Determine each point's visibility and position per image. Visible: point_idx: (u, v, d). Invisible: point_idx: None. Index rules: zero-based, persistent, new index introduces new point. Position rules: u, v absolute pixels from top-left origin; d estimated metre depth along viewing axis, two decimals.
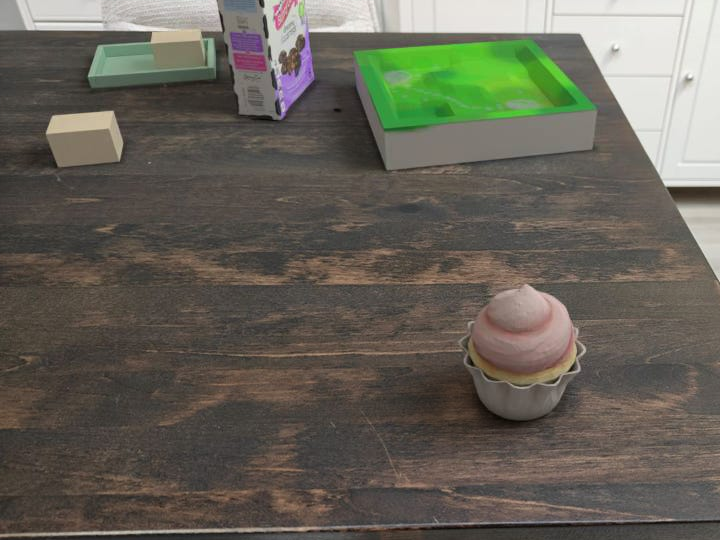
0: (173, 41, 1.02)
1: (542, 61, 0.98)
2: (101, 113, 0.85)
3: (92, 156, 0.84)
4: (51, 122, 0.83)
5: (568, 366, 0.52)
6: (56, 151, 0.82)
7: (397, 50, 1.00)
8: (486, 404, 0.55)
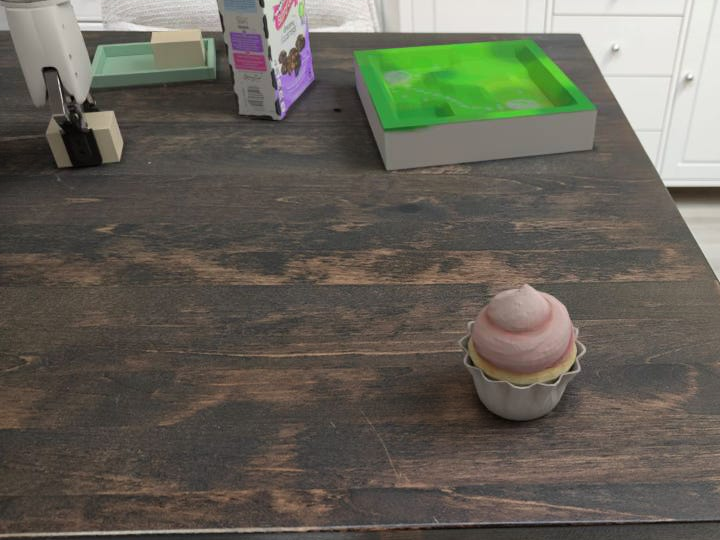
0: (173, 41, 1.02)
1: (542, 61, 0.98)
2: (101, 113, 0.85)
3: None
4: (51, 122, 0.83)
5: (568, 366, 0.52)
6: (56, 151, 0.82)
7: (397, 50, 1.00)
8: (486, 404, 0.55)
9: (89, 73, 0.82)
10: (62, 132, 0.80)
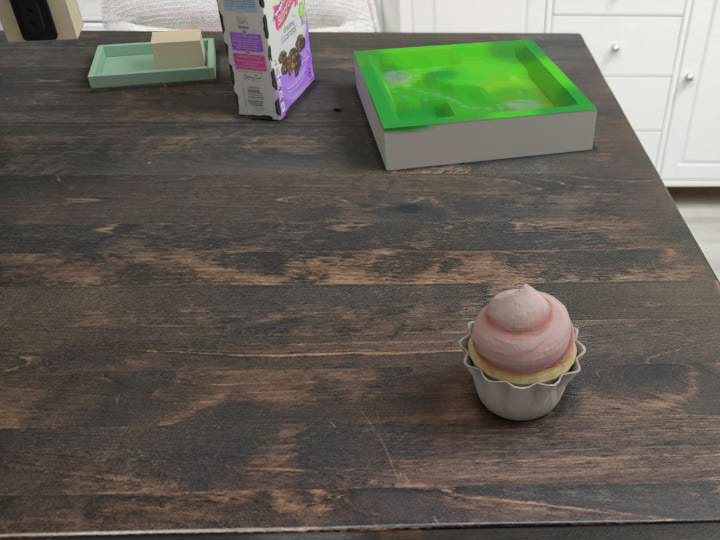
0: (173, 41, 1.02)
1: (542, 61, 0.98)
2: None
3: None
4: None
5: (568, 366, 0.52)
6: (5, 22, 0.74)
7: (397, 50, 1.00)
8: (486, 404, 0.55)
9: None
10: None
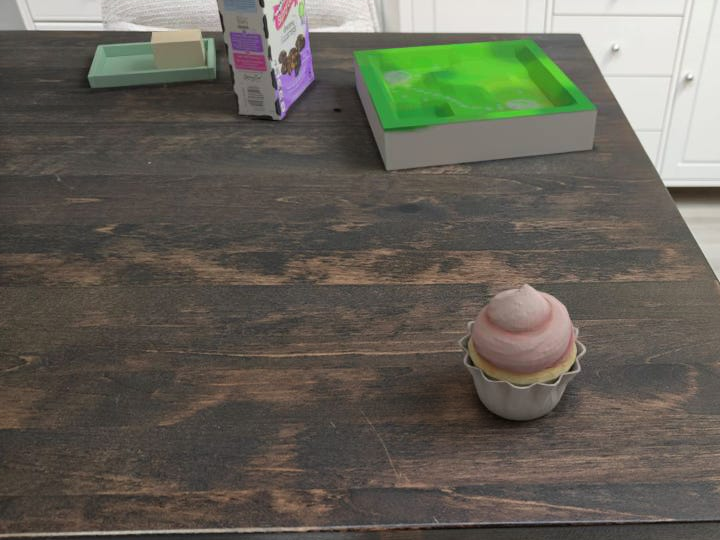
0: (173, 41, 1.02)
1: (542, 61, 0.98)
2: None
3: None
4: None
5: (568, 366, 0.52)
6: None
7: (397, 50, 1.00)
8: (486, 404, 0.55)
9: None
10: None
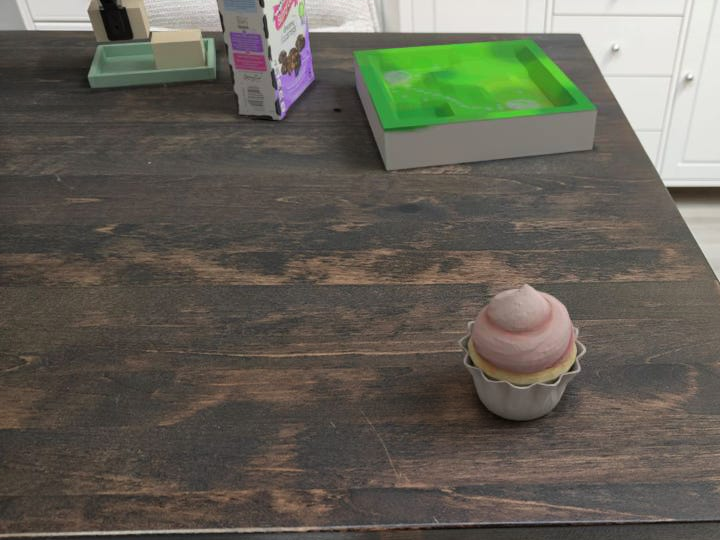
0: (173, 41, 1.02)
1: (542, 61, 0.98)
2: None
3: None
4: (91, 3, 0.99)
5: (568, 366, 0.52)
6: (96, 27, 0.98)
7: (397, 50, 1.00)
8: (486, 404, 0.55)
9: None
10: (101, 8, 0.96)
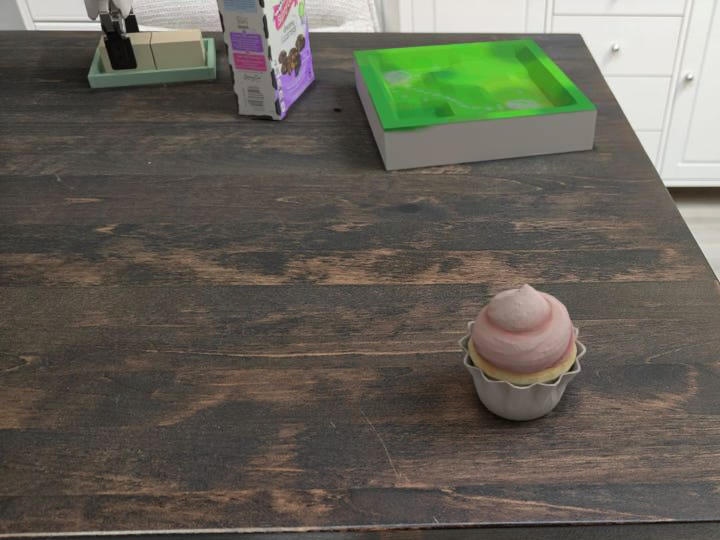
0: (173, 41, 1.02)
1: (542, 61, 0.98)
2: (141, 33, 1.04)
3: None
4: (101, 39, 1.02)
5: (568, 366, 0.52)
6: (106, 62, 1.01)
7: (397, 50, 1.00)
8: (486, 404, 0.55)
9: None
10: (105, 36, 0.96)
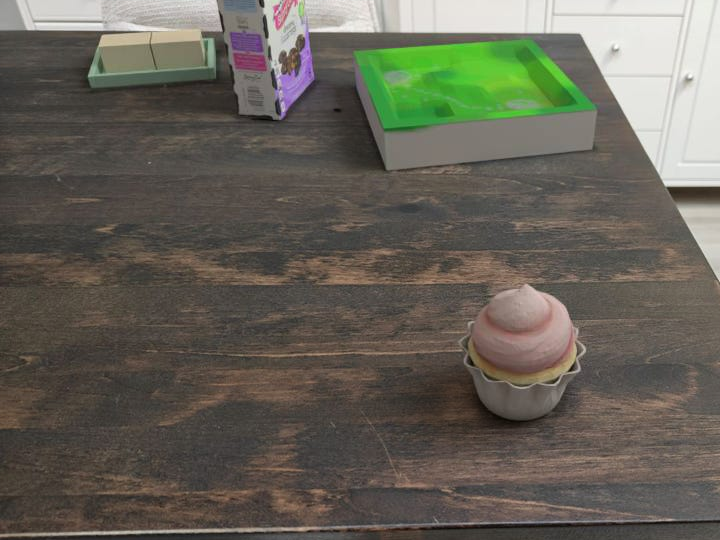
0: (173, 41, 1.02)
1: (542, 61, 0.98)
2: (141, 33, 1.04)
3: (134, 67, 1.03)
4: (101, 39, 1.02)
5: (568, 366, 0.52)
6: (106, 62, 1.01)
7: (397, 50, 1.00)
8: (486, 404, 0.55)
9: None
10: None
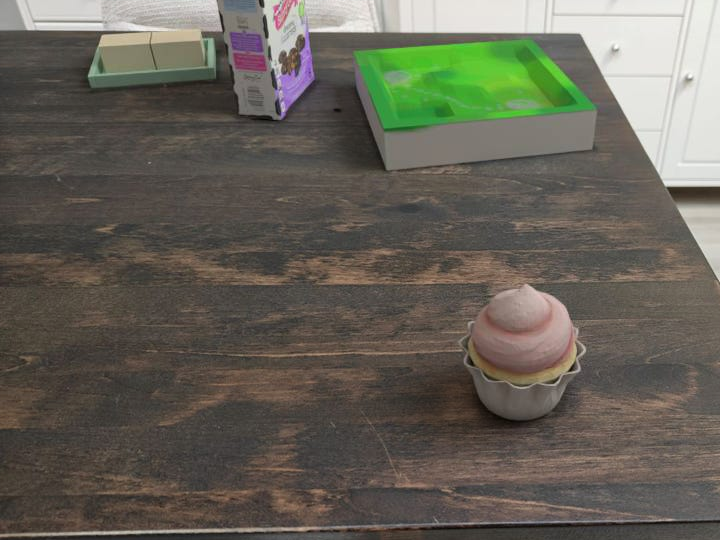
0: (173, 41, 1.02)
1: (542, 61, 0.98)
2: (141, 33, 1.04)
3: (134, 67, 1.03)
4: (101, 39, 1.02)
5: (568, 366, 0.52)
6: (106, 62, 1.01)
7: (397, 50, 1.00)
8: (486, 404, 0.55)
9: None
10: None
